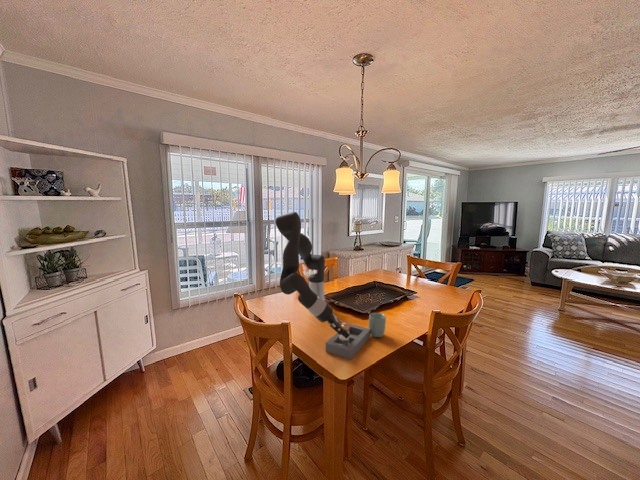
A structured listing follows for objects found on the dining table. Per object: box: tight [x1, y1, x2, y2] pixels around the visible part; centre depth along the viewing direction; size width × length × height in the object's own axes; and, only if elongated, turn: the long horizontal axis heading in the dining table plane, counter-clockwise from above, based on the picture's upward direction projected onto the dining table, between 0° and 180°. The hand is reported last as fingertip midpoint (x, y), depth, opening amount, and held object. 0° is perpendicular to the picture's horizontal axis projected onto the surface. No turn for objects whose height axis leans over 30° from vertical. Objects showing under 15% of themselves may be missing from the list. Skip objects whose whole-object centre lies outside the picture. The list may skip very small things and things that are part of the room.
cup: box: [368, 312, 387, 338], centre depth 125 cm, size 8×8×10 cm
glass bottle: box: [338, 322, 350, 346], centre depth 113 cm, size 4×4×11 cm
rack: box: [325, 322, 371, 361], centre depth 118 cm, size 12×22×4 cm, turn 148°
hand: (345, 331), depth 113 cm, fingers open, 8 cm apart
